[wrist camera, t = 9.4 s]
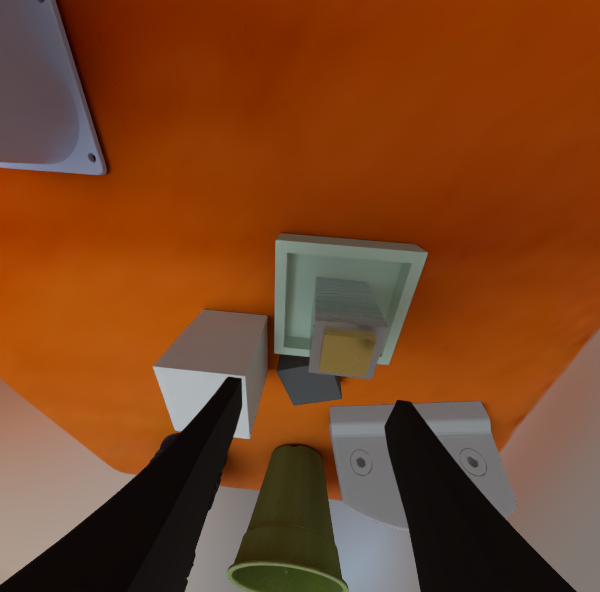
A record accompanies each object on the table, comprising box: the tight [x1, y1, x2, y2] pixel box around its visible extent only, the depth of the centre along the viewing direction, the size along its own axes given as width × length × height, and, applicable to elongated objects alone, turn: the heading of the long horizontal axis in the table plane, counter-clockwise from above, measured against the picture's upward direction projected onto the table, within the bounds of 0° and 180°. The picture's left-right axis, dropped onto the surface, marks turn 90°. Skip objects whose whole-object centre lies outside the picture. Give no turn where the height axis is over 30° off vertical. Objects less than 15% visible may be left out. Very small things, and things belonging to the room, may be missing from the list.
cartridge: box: [308, 277, 389, 379], centre depth 15 cm, size 4×4×6 cm
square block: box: [277, 354, 342, 405], centre depth 22 cm, size 5×5×2 cm
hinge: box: [329, 401, 516, 531], centre depth 23 cm, size 17×5×10 cm, turn 99°
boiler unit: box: [153, 309, 268, 439], centre depth 19 cm, size 8×6×7 cm
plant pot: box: [226, 445, 348, 592], centre depth 26 cm, size 12×12×11 cm
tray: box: [274, 233, 428, 365], centre depth 18 cm, size 10×10×2 cm
